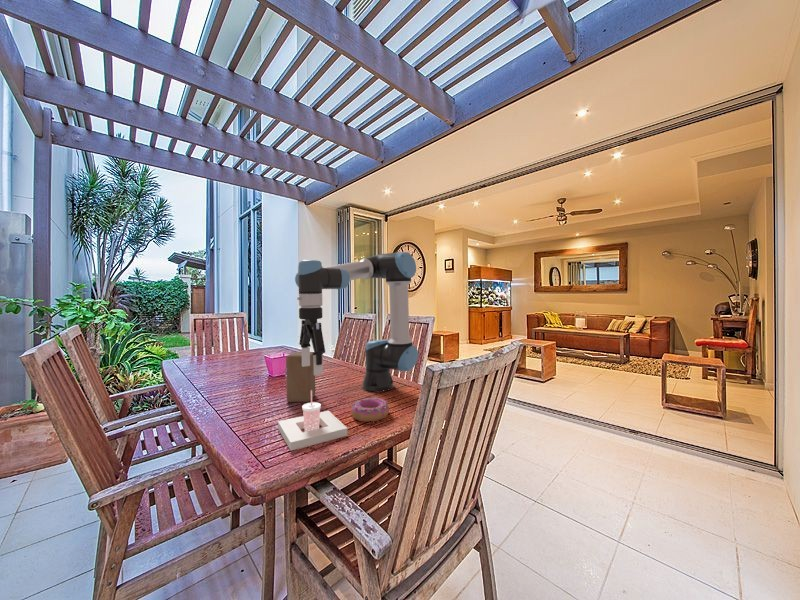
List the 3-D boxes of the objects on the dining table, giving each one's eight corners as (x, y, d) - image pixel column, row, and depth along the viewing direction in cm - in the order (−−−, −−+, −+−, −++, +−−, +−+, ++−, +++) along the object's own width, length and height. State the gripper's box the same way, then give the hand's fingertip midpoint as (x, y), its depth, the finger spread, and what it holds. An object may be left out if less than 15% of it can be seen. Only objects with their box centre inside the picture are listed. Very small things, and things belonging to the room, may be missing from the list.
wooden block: (309, 402, 133) (308, 355, 132) (285, 402, 133) (285, 355, 132) (316, 395, 143) (315, 351, 142) (294, 395, 143) (293, 351, 142)
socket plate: (328, 417, 118) (328, 410, 118) (347, 435, 102) (347, 428, 102) (278, 428, 108) (277, 421, 108) (290, 450, 93) (290, 442, 93)
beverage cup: (310, 426, 109) (309, 386, 109) (325, 429, 107) (324, 389, 106) (298, 434, 104) (297, 392, 103) (313, 437, 101) (312, 394, 101)
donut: (344, 415, 120) (344, 402, 120) (374, 406, 129) (374, 393, 129) (365, 427, 109) (365, 413, 109) (397, 416, 118) (396, 403, 118)
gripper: (289, 305, 113) (291, 364, 114) (310, 309, 92) (312, 380, 93) (310, 305, 117) (311, 361, 118) (335, 308, 96) (336, 376, 97)
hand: (311, 370), depth 105 cm, fingers open, 13 cm apart
